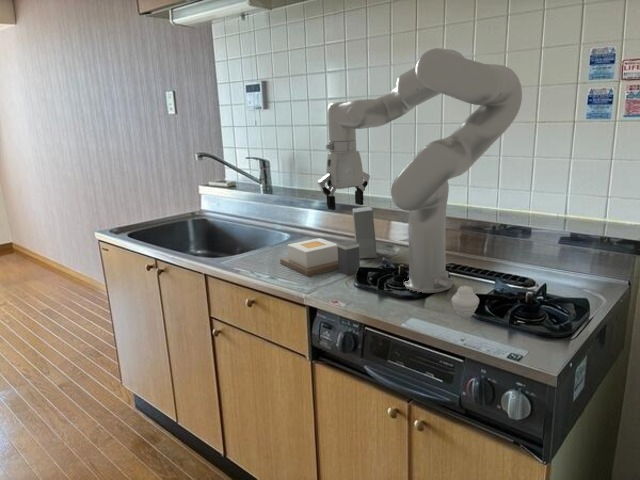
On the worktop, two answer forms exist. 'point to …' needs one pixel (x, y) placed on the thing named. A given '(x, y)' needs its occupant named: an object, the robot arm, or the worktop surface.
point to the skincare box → (364, 232)
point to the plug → (348, 257)
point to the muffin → (465, 301)
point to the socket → (312, 257)
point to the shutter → (312, 245)
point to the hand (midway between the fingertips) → (345, 206)
